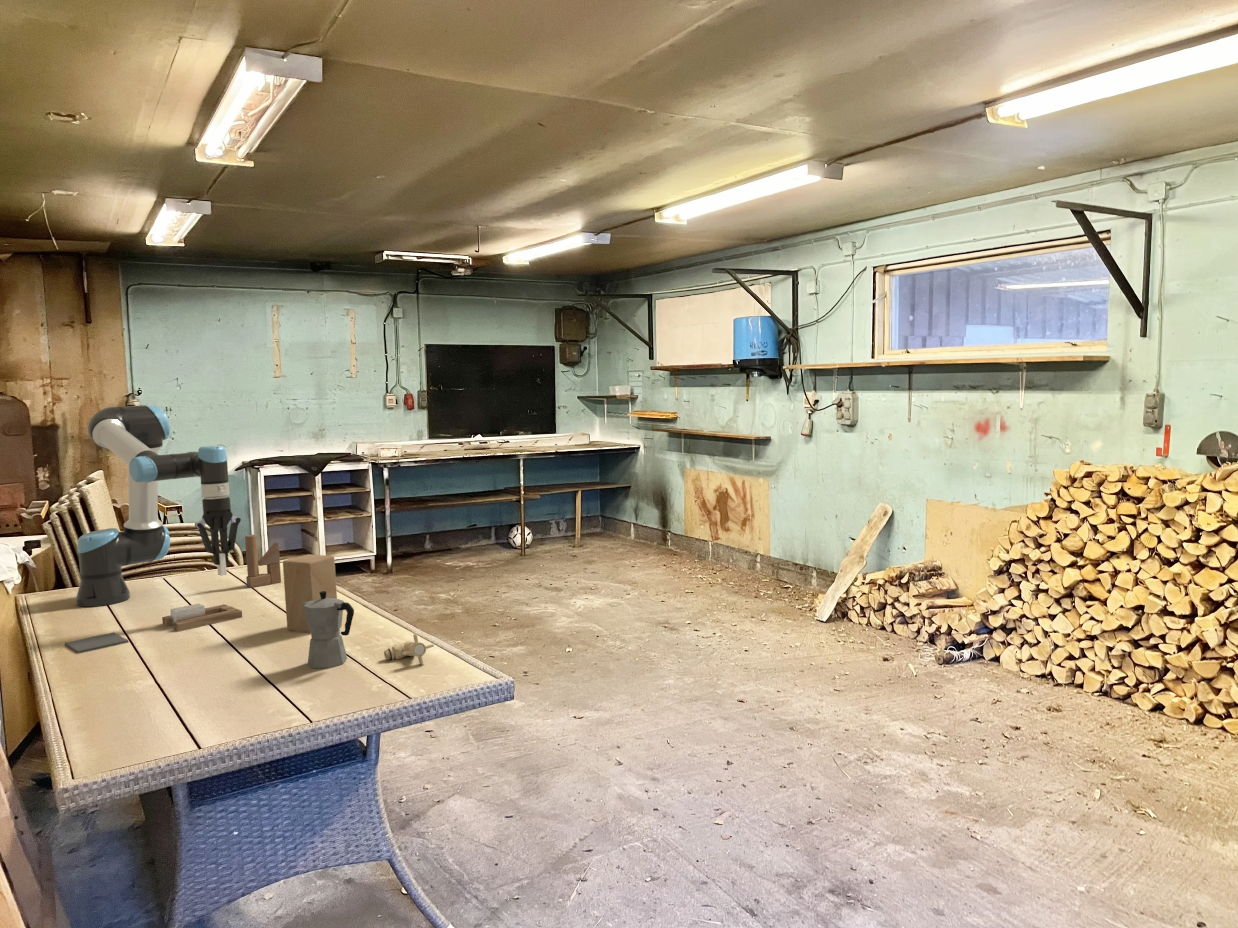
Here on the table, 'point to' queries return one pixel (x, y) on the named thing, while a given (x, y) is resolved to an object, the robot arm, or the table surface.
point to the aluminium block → (187, 612)
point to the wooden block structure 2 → (268, 559)
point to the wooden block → (306, 586)
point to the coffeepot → (327, 631)
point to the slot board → (206, 617)
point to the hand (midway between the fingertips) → (222, 574)
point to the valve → (407, 650)
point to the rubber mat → (96, 642)
